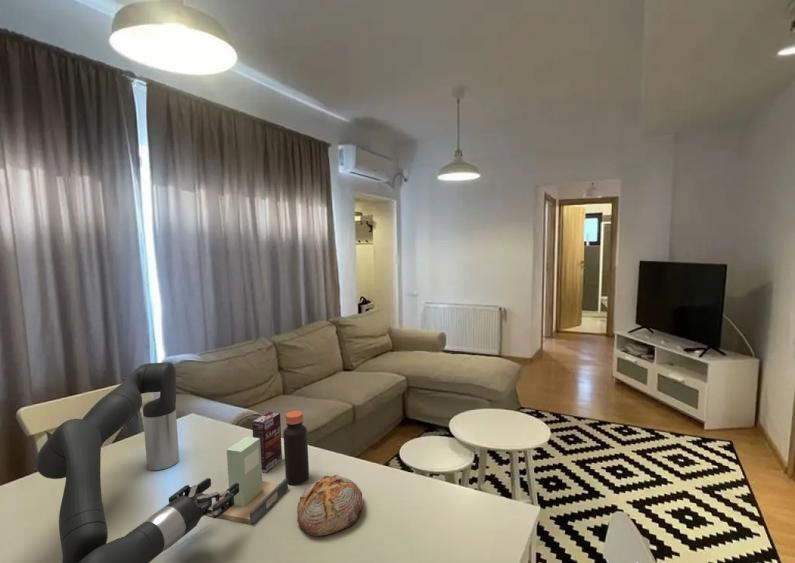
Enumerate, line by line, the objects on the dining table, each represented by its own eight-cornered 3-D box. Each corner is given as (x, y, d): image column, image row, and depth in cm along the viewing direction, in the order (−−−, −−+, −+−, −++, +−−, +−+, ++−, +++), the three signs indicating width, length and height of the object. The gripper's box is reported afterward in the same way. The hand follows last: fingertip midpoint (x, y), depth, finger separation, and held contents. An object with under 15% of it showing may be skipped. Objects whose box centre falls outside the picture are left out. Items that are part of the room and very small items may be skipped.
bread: (285, 540, 100) (280, 500, 99) (317, 492, 119) (313, 459, 118) (350, 544, 96) (346, 503, 96) (372, 494, 116) (369, 459, 115)
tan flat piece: (204, 514, 108) (203, 503, 108) (244, 481, 124) (243, 472, 123) (253, 524, 104) (253, 513, 104) (288, 489, 119) (288, 479, 119)
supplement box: (266, 473, 128) (263, 423, 127) (253, 470, 130) (250, 421, 129) (283, 459, 136) (281, 412, 135) (271, 457, 138) (268, 411, 137)
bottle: (299, 470, 129) (295, 408, 127) (314, 477, 125) (310, 412, 123) (281, 481, 124) (277, 415, 122) (296, 488, 120) (292, 420, 118)
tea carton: (229, 504, 111) (226, 449, 110) (249, 487, 118) (246, 436, 117) (244, 506, 109) (241, 451, 108) (262, 490, 117) (260, 438, 116)
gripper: (145, 535, 91) (201, 494, 106) (197, 547, 87) (248, 503, 102) (143, 502, 91) (200, 465, 106) (195, 513, 86) (246, 473, 101)
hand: (223, 484), depth 104 cm, fingers open, 8 cm apart
